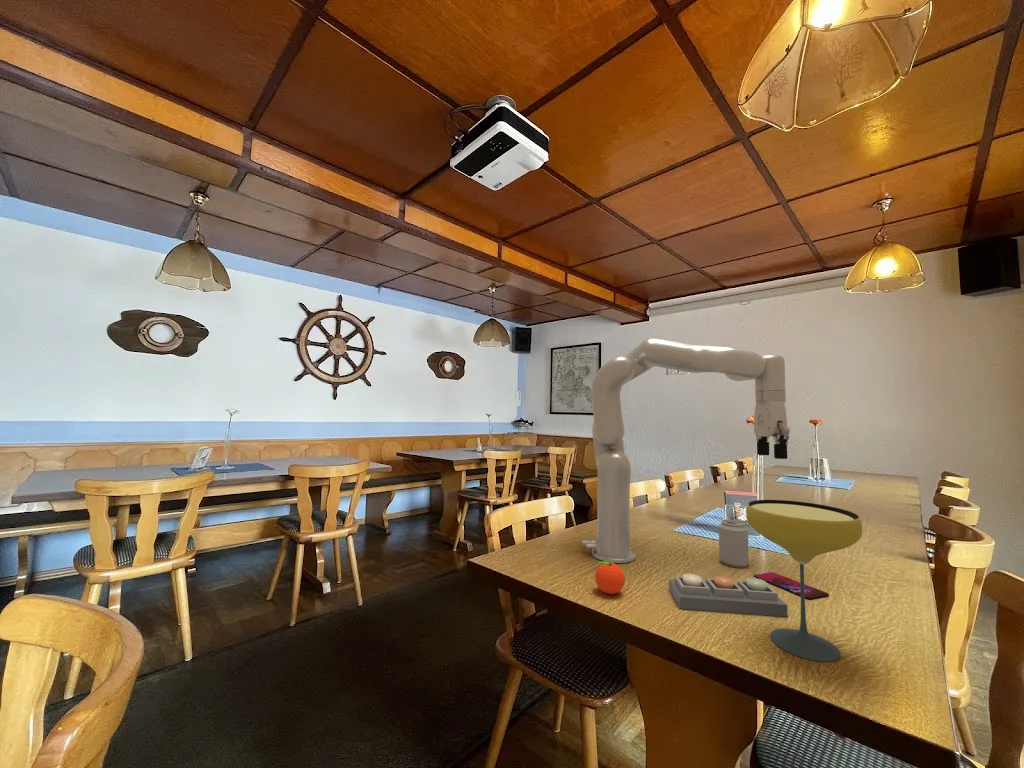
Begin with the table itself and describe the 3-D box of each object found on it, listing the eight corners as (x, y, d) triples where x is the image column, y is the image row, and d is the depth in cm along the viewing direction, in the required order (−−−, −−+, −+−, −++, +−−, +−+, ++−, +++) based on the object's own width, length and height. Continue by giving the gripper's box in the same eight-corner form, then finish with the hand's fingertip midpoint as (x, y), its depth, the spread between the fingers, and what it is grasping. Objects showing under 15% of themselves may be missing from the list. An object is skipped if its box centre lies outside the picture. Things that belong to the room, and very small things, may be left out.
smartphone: (772, 571, 114) (830, 593, 100) (772, 575, 114) (831, 597, 100) (751, 575, 111) (808, 598, 97) (751, 578, 111) (808, 602, 97)
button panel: (679, 608, 92) (679, 590, 92) (669, 589, 102) (668, 572, 102) (787, 617, 89) (787, 597, 89) (765, 596, 99) (765, 579, 99)
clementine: (585, 591, 100) (585, 561, 100) (600, 583, 105) (600, 554, 106) (616, 602, 95) (616, 570, 95) (629, 592, 100) (629, 562, 100)
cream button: (685, 586, 95) (685, 579, 95) (680, 579, 99) (680, 573, 99) (703, 588, 94) (703, 580, 94) (698, 581, 98) (698, 574, 98)
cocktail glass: (881, 652, 76) (875, 513, 78) (846, 689, 66) (840, 527, 67) (773, 612, 91) (770, 496, 92) (730, 637, 80) (728, 505, 82)
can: (741, 560, 124) (740, 518, 125) (753, 569, 116) (752, 525, 117) (715, 558, 124) (714, 517, 125) (725, 567, 117) (724, 524, 118)
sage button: (751, 591, 93) (751, 584, 93) (743, 584, 97) (743, 577, 97) (770, 592, 92) (770, 585, 92) (762, 585, 96) (762, 578, 96)
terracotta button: (717, 589, 94) (717, 581, 94) (711, 582, 98) (711, 575, 98) (736, 590, 93) (736, 583, 93) (730, 583, 97) (729, 576, 97)
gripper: (743, 398, 131) (744, 453, 130) (771, 396, 114) (773, 459, 112) (768, 398, 130) (770, 454, 129) (801, 396, 113) (803, 460, 112)
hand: (771, 456), depth 121 cm, fingers open, 9 cm apart
